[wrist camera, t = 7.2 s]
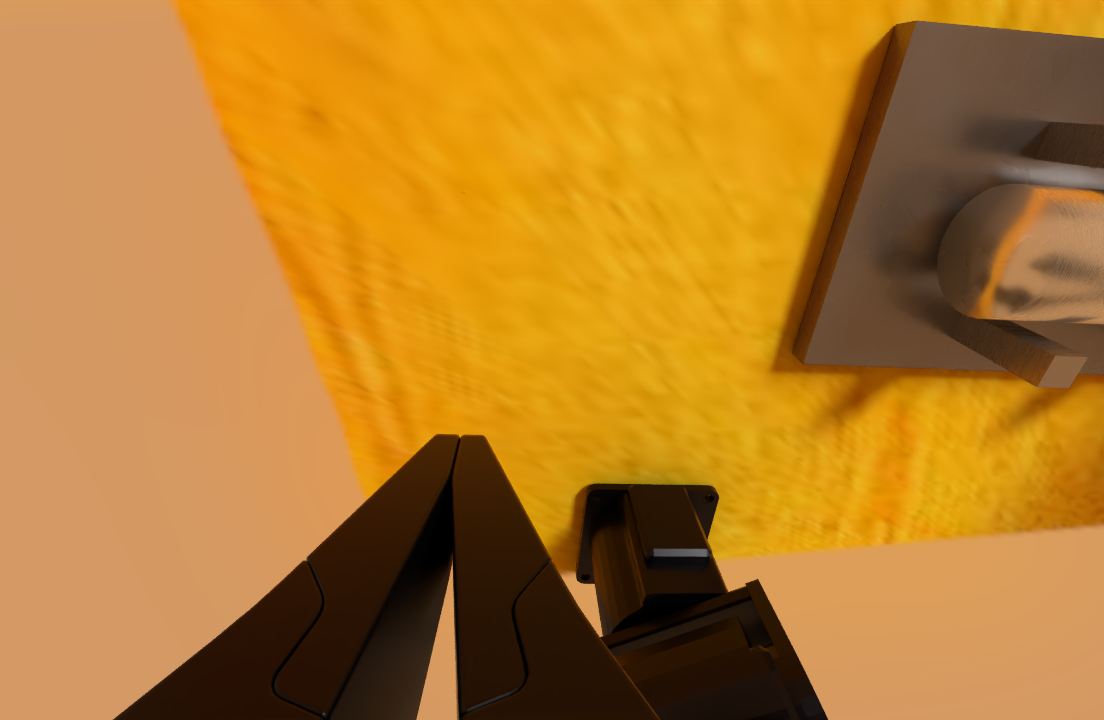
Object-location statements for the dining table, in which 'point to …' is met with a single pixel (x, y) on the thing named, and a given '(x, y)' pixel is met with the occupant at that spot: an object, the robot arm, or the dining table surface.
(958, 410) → the dining table surface
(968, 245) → the tube
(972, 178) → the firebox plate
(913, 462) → the dining table surface
